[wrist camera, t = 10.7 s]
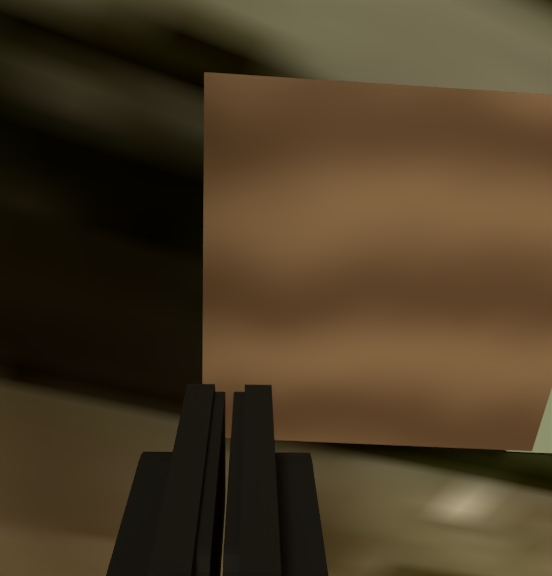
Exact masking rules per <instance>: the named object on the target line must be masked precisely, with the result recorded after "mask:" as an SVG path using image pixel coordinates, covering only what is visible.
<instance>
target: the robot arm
mask: <svg viewBox="0 0 552 576" xmlns="http://www.w3.org/2000/svg"><path fill="white" fill-rule="evenodd" d="M224 513H225V392H215V384H187V387H186V391H185V396H184V401H183V406H182V410H181V415H180V420H179V425H178V430H177V435H176V439H175V444H174V449H173V452H143V453H142V455H141V457H140V460H139V463H138V466H137V470H136V473H135V477H134V480H133V484H132V487H131V491H130V494H129V498H128V501H127V505H126V508H125V512H124V515H123V519H122V522H121V526H120V529H119V533H118V536H117V540H116V543H115V547H114V550H113V554H112V557H111V561H110V564H109V568H108V571H107V575H106V576H220V573H221V558H222V543H223V528H224ZM223 576H328V571H327V564H326V557H325V549H324V542H323V535H322V528H321V521H320V514H319V507H318V500H317V493H316V486H315V479H314V472H313V464H312V459H311V455H310V453H275V441H274V421H273V401H272V385H245V392H234V396H233V412H232V428H231V444H230V460H229V476H228V492H227V508H226V524H225V540H224V557H223Z"/></svg>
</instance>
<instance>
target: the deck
mask: <svg viewBox="0 0 552 576" xmlns="http://www.w3.org/2000/svg"><path fill="white" fill-rule="evenodd" d="M202 384H215V392H225V438H231V428H232V412H233V396H234V392H245V385H272V401H273V421H274V440H285V441H308V442H331V443H355V444H378V445H401V446H425V447H448V448H471V449H494V450H518V451H532V449H533V446H534V443H535V440H536V437H537V433H538V430H539V427H540V424H541V421H542V418H543V414H544V411H545V408H546V405H547V402H548V398H549V395H550V392H551V389H552V95H546V94H530V93H515V92H500V91H484V90H469V89H454V88H438V87H423V86H408V85H392V84H377V83H362V82H346V81H331V80H316V79H300V78H285V77H270V76H254V75H239V74H224V73H208V72H204V198H203V374H202Z"/></svg>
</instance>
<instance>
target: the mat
mask: <svg viewBox="0 0 552 576" xmlns="http://www.w3.org/2000/svg"><path fill="white" fill-rule="evenodd" d="M505 451H511V452H534V453H552V389H551V392H550V395H549V398H548V402H547V405H546V408H545V411H544V414H543V418H542V421H541V424H540V427H539V430H538V433H537V437H536V440H535V443H534V446H533V449H532V451H518V450H505Z"/></svg>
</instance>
